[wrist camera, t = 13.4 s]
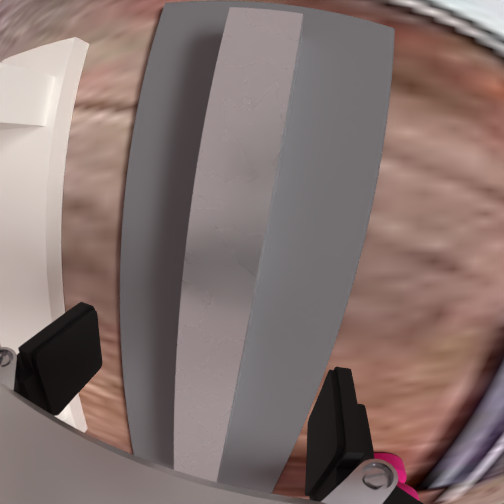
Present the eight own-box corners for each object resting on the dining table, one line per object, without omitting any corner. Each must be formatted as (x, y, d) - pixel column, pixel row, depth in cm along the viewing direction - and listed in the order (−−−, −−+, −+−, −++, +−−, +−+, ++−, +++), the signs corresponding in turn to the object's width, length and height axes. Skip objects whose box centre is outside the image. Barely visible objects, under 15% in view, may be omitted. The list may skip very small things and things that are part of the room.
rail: (239, 30, 12) (230, 7, 9) (302, 37, 12) (303, 13, 9) (183, 470, 20) (174, 492, 17) (218, 479, 19) (212, 502, 17)
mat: (168, 7, 12) (165, 3, 12) (392, 32, 11) (394, 28, 11) (137, 461, 21) (135, 464, 21) (268, 495, 20) (267, 499, 20)
